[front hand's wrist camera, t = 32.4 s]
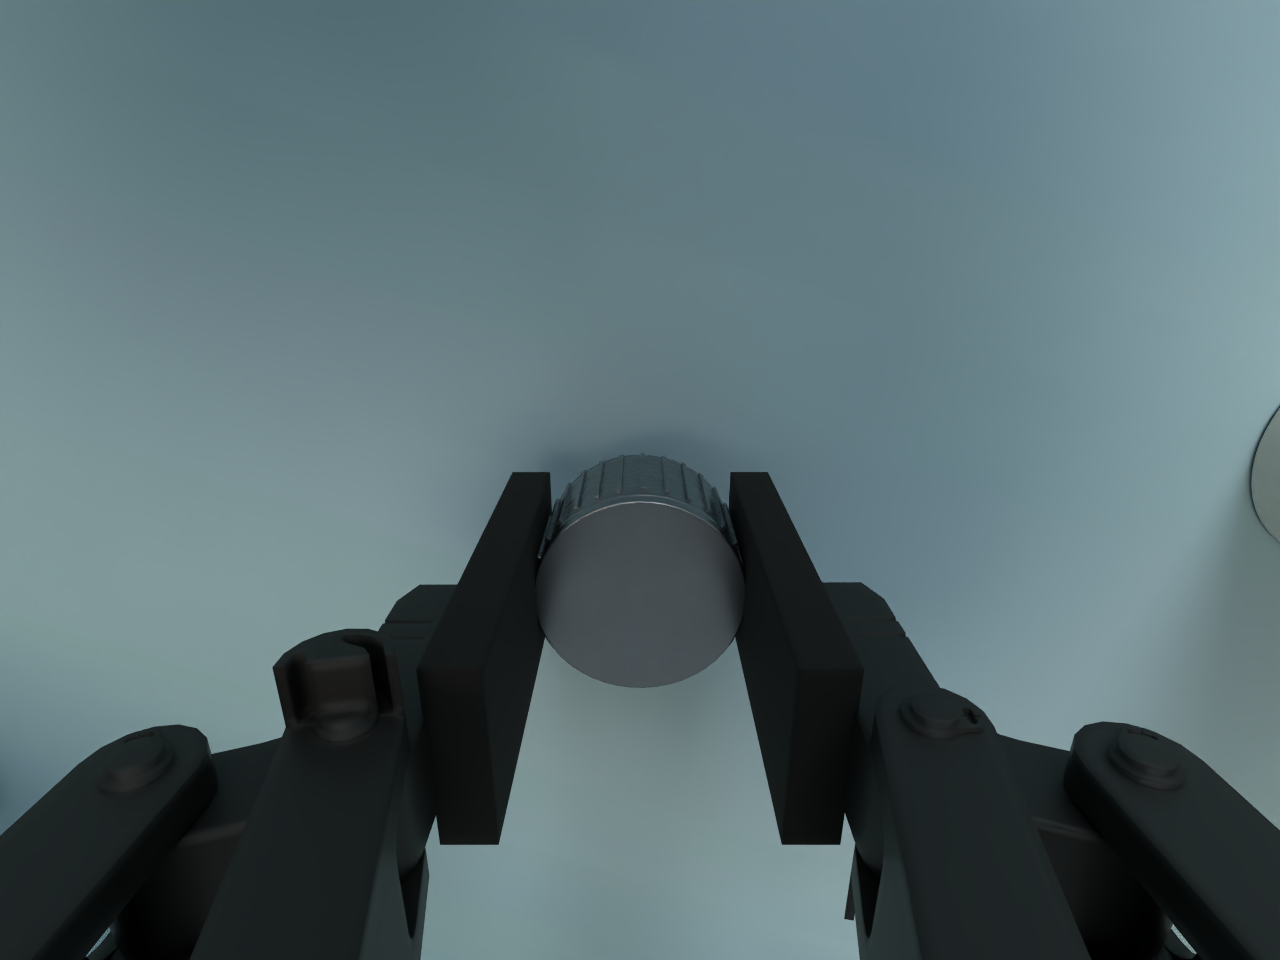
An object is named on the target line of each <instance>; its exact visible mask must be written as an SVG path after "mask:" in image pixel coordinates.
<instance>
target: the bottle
mask: <svg viewBox="0 0 1280 960" xmlns="http://www.w3.org/2000/svg"><path fill="white" fill-rule="evenodd" d="M1251 488H1252V498H1253V502H1254V506H1255V509H1256V512H1257V514H1258V516H1259V518H1260V520H1261V522H1262V523H1263V525H1264V526H1265V528H1266V529H1267V530H1268V532H1269V533H1270V534H1271V535H1272V536H1273V537H1274V538H1276V539H1277V540H1278V541H1279V542H1280V408H1279V410H1278V411H1277V412H1276V414H1275V416H1274V417H1273V419H1272V420H1271V422H1270V424H1269V425H1268V427H1267V429H1266V431H1265V433H1264V435H1263V437H1262V439H1261V441H1260V444H1259V447H1258V449H1257V452H1256V455H1255V459H1254V464H1253V469H1252V480H1251Z"/></svg>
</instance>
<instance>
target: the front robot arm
mask: <svg viewBox="0 0 1280 960" xmlns="http://www.w3.org/2000/svg"><path fill="white" fill-rule="evenodd" d="M729 514H730V517H731V520H732V524H733V527H734V530H735V534H736V537H737V541H738V544H739V546H738V549H739V552H740V556H741V559H742V566H743V569H744V574H745V578H746V583H745V601H744V616H743V621H742V623H741V626H740V628H739V631H738V632H737V634H736V636H735V637H736V642H737V646H738V651H739V655H740V660H741V664H742V669H743V673H744V678H745V682H746V687H747V691H748V695H749V700H750V704H751V709H752V713H753V718H754V722H755V727H756V731H757V736H758V740H759V745H760V749H761V754H762V758H763V762H764V767H765V771H766V776H767V780H768V785H769V789H770V794H771V798H772V803H773V807H774V812H775V816H776V820H777V825H778V829H779V834H780V838H781V843H782V845H840V843H841V835H842V828H843V821H844V814H846V817H847V820H848V823H849V826H850V829H851V832H852V835H853V838H854V841H855V849H854V856H853V863H852V869H851V876H850V883H849V890H848V896H847V903H846V910H845V918H844V919H848V920H854V915H855V918H856V927H857V937H858V946H859V956H860V960H1280V830H1279V829H1278V828H1276V827H1275V826H1274V825H1273V824H1272V823H1271V822H1270V821H1269V820H1268V819H1267V818H1265V817H1264V816H1263V815H1262V814H1261V813H1260V812H1259V811H1258V810H1257V809H1256V808H1254V807H1253V806H1252V805H1251V804H1250V803H1249V802H1248V801H1247V800H1246V799H1245V798H1243V797H1242V796H1241V795H1240V794H1239V793H1238V792H1237V791H1236V790H1235V789H1234V788H1232V787H1231V786H1230V785H1229V784H1228V783H1227V782H1226V781H1225V780H1224V779H1223V778H1221V777H1220V776H1219V775H1218V774H1217V773H1216V772H1215V771H1214V770H1213V769H1211V768H1210V767H1209V766H1208V765H1207V764H1206V763H1205V762H1204V761H1203V760H1201V759H1200V758H1198V757H1197V756H1196V755H1194V754H1193V753H1192V752H1190V751H1189V750H1187V749H1186V748H1185V747H1183V746H1182V745H1181V744H1178V743H1176V742H1174V741H1172V740H1170V739H1168V738H1166V737H1164V736H1162V735H1160V734H1158V733H1156V732H1153V731H1150V730H1148V729H1145V728H1140V727H1138V726H1133V725H1130V724H1125V723H1113V722H1098V723H1093V724H1089V725H1084V726H1083V727H1082V728H1081V729H1080V730H1079V731H1078V732H1077V733H1076V734H1075V735H1074V739H1073V742H1072V746H1071V749H1070V751H1066V750H1061V749H1057V748H1052V747H1048V746H1043V745H1038V744H1034V743H1029V742H1025V741H1020V740H1017V739H1013V738H1010V737H1006V736H1003V735H1000V734H997V732H996V730H995V727H994V726H993V724H992V723H991V721H990V720H989V718H988V717H987V716H986V714H985V713H984V711H982V710H981V709H980V708H978V707H977V706H976V705H974V704H973V703H972V702H970V701H969V700H968V699H966V698H964V697H962V696H960V695H957V694H955V693H953V692H951V691H948V690H946V689H942V688H940V687H939V685H938V684H937V682H936V681H935V679H934V678H933V676H932V674H931V673H930V671H929V670H928V668H927V666H926V665H925V663H924V662H923V660H922V659H921V657H920V655H919V654H918V652H917V651H916V649H915V647H914V646H913V644H912V643H911V641H910V640H909V638H908V637H906V635H905V632H904V630H903V628H902V627H901V625H900V624H899V622H898V621H896V617H895V616H894V614H893V613H892V611H891V609H890V608H889V606H888V605H887V603H886V602H885V600H884V599H883V598H882V597H881V596H879V595H878V594H876V593H875V592H874V591H872V590H871V589H869V588H868V587H867V586H865V585H864V584H862V583H861V582H821V580H820V578H819V576H818V574H817V571H816V569H815V567H814V565H813V563H812V561H811V559H810V557H809V555H808V553H807V551H806V549H805V547H804V545H803V543H802V541H801V539H800V537H799V535H798V533H797V531H796V529H795V527H794V525H793V523H792V521H791V519H790V517H789V515H788V512H787V510H786V508H785V506H784V504H783V502H782V500H781V498H780V496H779V494H778V492H777V490H776V488H775V486H774V484H773V482H772V480H771V478H770V476H769V474H768V472H731V474H730V495H729ZM551 515H552V506H551V485H550V472H513V473H512V475H511V477H510V479H509V481H508V483H507V485H506V487H505V489H504V491H503V493H502V495H501V497H500V499H499V501H498V503H497V505H496V507H495V509H494V511H493V513H492V515H491V518H490V520H489V522H488V524H487V526H486V528H485V530H484V532H483V534H482V536H481V538H480V540H479V542H478V544H477V546H476V548H475V550H474V552H473V554H472V556H471V558H470V560H469V562H468V564H467V566H466V568H465V570H464V572H463V575H462V577H461V579H460V581H459V583H458V585H419V586H417V587H416V588H414V589H413V590H412V591H410V592H409V593H407V594H406V595H405V596H403V597H402V598H401V599H399V600H398V601H397V602H396V603H395V605H394V607H393V608H392V610H391V611H390V613H389V615H388V616H387V618H386V619H385V624H382V626H381V627H380V629H379V631H374V630H370V629H343V630H338V631H333V632H328V633H323V634H321V635H318V636H316V637H313V638H311V639H308V640H305V641H303V642H301V643H299V644H298V645H296V646H295V647H293V648H292V649H290V650H289V651H287V652H286V653H284V654H283V655H282V657H281V658H280V659H279V660H278V661H277V663H276V664H275V665H274V666H273V672H274V676H275V681H276V685H277V689H278V694H279V698H280V703H281V707H282V712H283V716H284V720H285V725H286V729H285V731H284V733H283V736H282V737H281V738H278V739H274V740H271V741H267V742H264V743H260V744H256V745H251V746H247V747H242V748H237V749H233V750H228V751H224V752H219V753H215V754H211V751H210V747H209V744H208V740H207V737H206V736H204V735H203V734H202V733H201V732H200V731H199V730H198V729H197V728H193V727H188V726H183V725H168V726H157V727H152V728H149V729H144V730H142V731H137V732H134V733H131V734H128V735H126V736H124V737H122V738H120V739H118V740H116V741H114V742H112V743H110V744H107V745H105V746H103V747H101V748H100V749H99V750H97V751H96V752H94V753H93V754H92V755H90V756H89V757H88V758H86V759H85V760H84V761H82V762H81V763H79V764H78V765H77V766H76V767H75V768H74V769H73V770H72V771H71V772H69V773H68V774H67V775H66V776H65V777H64V778H63V779H62V780H61V781H60V782H58V783H57V784H56V785H55V786H54V787H53V788H52V789H51V790H50V791H49V792H48V793H46V794H45V795H44V796H43V797H42V798H41V799H40V800H39V801H38V802H37V803H36V804H34V805H33V806H32V807H31V808H30V809H29V810H28V811H27V812H26V813H25V814H24V815H22V816H21V817H20V818H19V819H18V820H17V821H16V822H15V823H14V824H13V825H12V826H10V827H9V828H8V829H7V830H6V831H5V832H4V833H3V834H2V835H1V836H0V960H420V957H421V948H422V938H423V929H424V920H425V910H426V901H427V891H428V882H429V870H428V863H427V856H426V849H425V846H426V843H427V840H428V837H429V834H430V831H431V828H432V825H433V822H434V819H435V816H436V818H437V825H438V832H439V839H440V845H499V840H500V836H501V831H502V827H503V823H504V818H505V814H506V809H507V805H508V800H509V796H510V791H511V787H512V782H513V778H514V773H515V769H516V764H517V760H518V756H519V751H520V747H521V742H522V738H523V733H524V729H525V724H526V720H527V715H528V711H529V706H530V702H531V697H532V693H533V689H534V684H535V680H536V675H537V671H538V666H539V662H540V657H541V653H542V648H543V644H544V639H545V635H544V633H543V631H542V629H541V627H540V625H539V622H538V619H537V609H536V593H535V576H536V572H537V568H538V565H539V561H538V554H539V551H540V547H541V544H542V541H543V537H544V534H545V531H546V527H547V524H548V521H549V517H550V516H551ZM1172 924H1174V925H1175V927H1176V928H1177V929H1178V930H1179V932H1180V933H1181V934H1182V935H1183V937H1184V938H1185V939H1186V940H1187V942H1188V943H1189V944H1190V945H1191V947H1192V948H1193V949H1194V950H1195V952H1196V953H1197V954H1194V953H1192V952H1191V951H1190V950H1189V949H1188V948H1187V947H1186V946H1185V945H1184V944H1183V943H1182V942H1181V940H1180V939H1179V938H1178V937H1177V935H1176V934H1175V933H1174V932H1173V930H1172V929H1171V927H1172ZM108 927H109V928H110V930H111V931H110V933H109V934H108V935H107V936H106V938H105V939H104V940H103V941H102V943H101V944H100V945H99V946H98V947H97V948H96V949H95V950H94V951H93V952H92V953H91V954H89V955H88V956H87V957H86V955H87V954H88V952H89V951H90V950H91V949H92V947H93V946H94V945H95V944H96V942H97V941H98V940H99V939H100V937H101V936H102V935H103V934H104V932H105V931H106V930H107V929H108Z"/></svg>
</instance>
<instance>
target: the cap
mask: <svg viewBox="0 0 1280 960" xmlns="http://www.w3.org/2000/svg"><path fill="white" fill-rule="evenodd" d="M738 546H739V544H738V541H737V537H736V534H735V530H734V527H733V524H732V520H731V517H730V514H729V510H728V507H727V504H726V503H724V504H723V503H722V501H721V499H720V497H719V495H718V491H717V489H716V488H715V487H712V486H711V485H710V484H709V483H708V482H707V481H706V480H705V479H704V477H703V475H702V474H701V473H699V474H697V473H696V472H695V471H693V470H691V469H690V468H688V467H686V464H684V463H682V464H680V463H678V462H675V461H673V460H669V459H666V457H664V456H662V457H656V456H650V455H645V454H641V455H632V456H624V455H621V456H620V457H619V458H614V459H611V460H608V461H605V462H604V461H601V462H600V463H599V464H598V465H596V466H594V467H592V468H590V469H589V470H587V471H585V470H584V471H582V473H581V475H580V476H579V477H578V478H577V479H576V480H575V481H574V482H572V483H571V484H570V483H569V484H568V485H567V486H566V490H565V492H564V493H563V495H562V496H561V498H560V499H558V498H557V500H556V501H555V505H554V508H553V512H552V515H551V516H550V517H549V521H548V524H547V527H546V531H545V534H544V537H543V541H542V544H541V547H540V551H539V554H538V561H539V565H538V568H537V572H536V576H535V593H536V609H537V619H538V622H539V625H540V627H541V629H542V631H543V633H544V635H545V637H546V639H547V640H548V642H549V643H550V644H551V646H552V647H553V648H554V650H555V651H556V652H557V653H558V654H559V655H560V656H561V657H562V658H563V659H564V660H565V661H566V662H568V663H569V664H570V665H571V666H573V667H574V668H576V669H577V670H579V671H580V672H582V673H584V674H586V675H588V676H590V677H592V678H594V679H597V680H600V681H602V682H605V683H609V684H613V685H617V686H625V687H640V688H645V687H657V686H662V685H667V684H671V683H675V682H678V681H681V680H684V679H686V678H688V677H690V676H693V675H695V674H696V673H698V672H700V671H702V670H703V669H705V668H706V667H708V666H709V665H710V664H712V663H713V662H714V661H715V660H716V659H717V658H718V657H719V656H720V655H722V654H723V653H724V651H725V650H726V649H727V648H728V646H729V645H730V644H731V643H732V641H733V639H734V638H735V636H736V634H737V632H738V631H739V628H740V626H741V623H742V621H743V616H744V601H745V583H746V578H745V574H744V569H743V566H742V559H741V556H740V552H739V549H738Z"/></svg>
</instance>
